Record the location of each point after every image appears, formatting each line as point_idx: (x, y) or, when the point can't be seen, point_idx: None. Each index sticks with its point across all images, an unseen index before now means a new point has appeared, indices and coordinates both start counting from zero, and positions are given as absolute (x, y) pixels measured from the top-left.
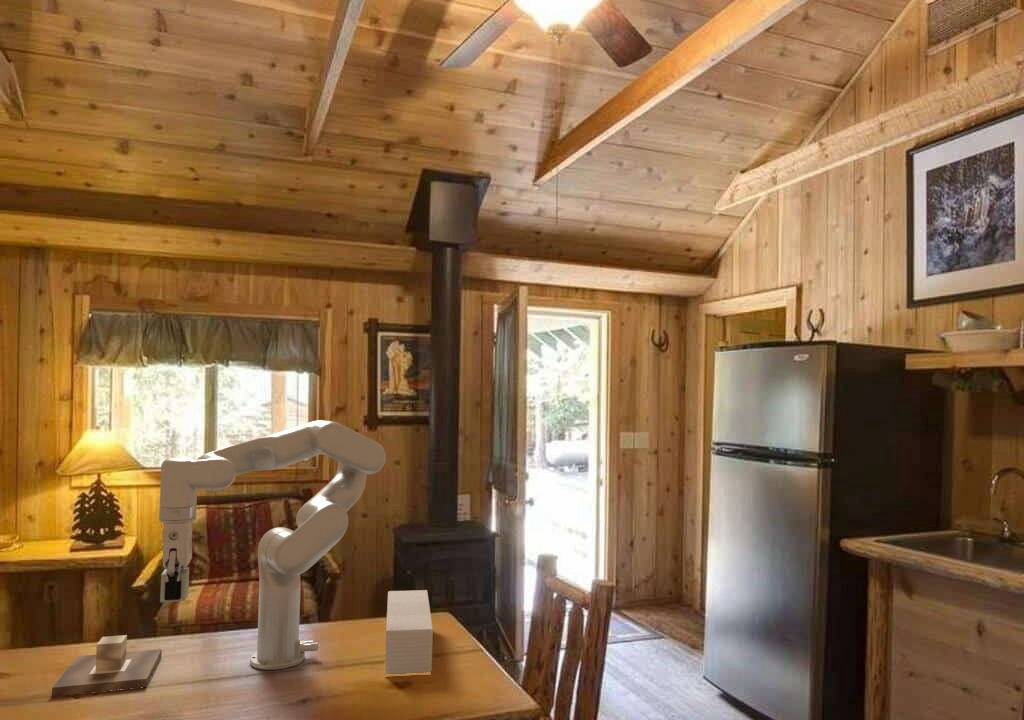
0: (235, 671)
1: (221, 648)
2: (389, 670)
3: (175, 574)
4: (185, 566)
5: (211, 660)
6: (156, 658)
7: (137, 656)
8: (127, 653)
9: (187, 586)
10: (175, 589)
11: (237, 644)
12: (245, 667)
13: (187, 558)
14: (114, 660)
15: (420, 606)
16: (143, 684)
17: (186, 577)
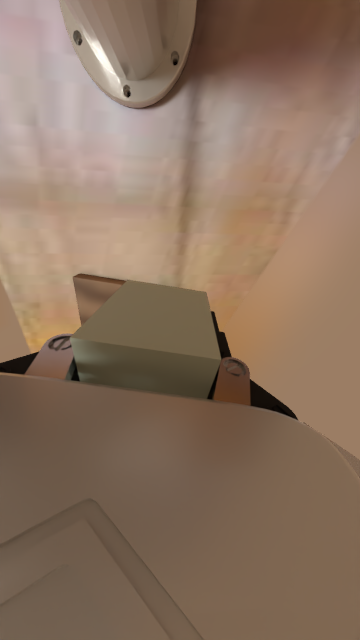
0: (165, 150)
1: (43, 173)
2: None
3: (297, 419)
4: (306, 425)
5: (101, 197)
6: (109, 283)
7: (97, 305)
8: (85, 315)
9: (152, 299)
10: (227, 347)
11: (19, 132)
12: (151, 123)
13: (323, 515)
14: None
15: None
16: None
17: (196, 335)
